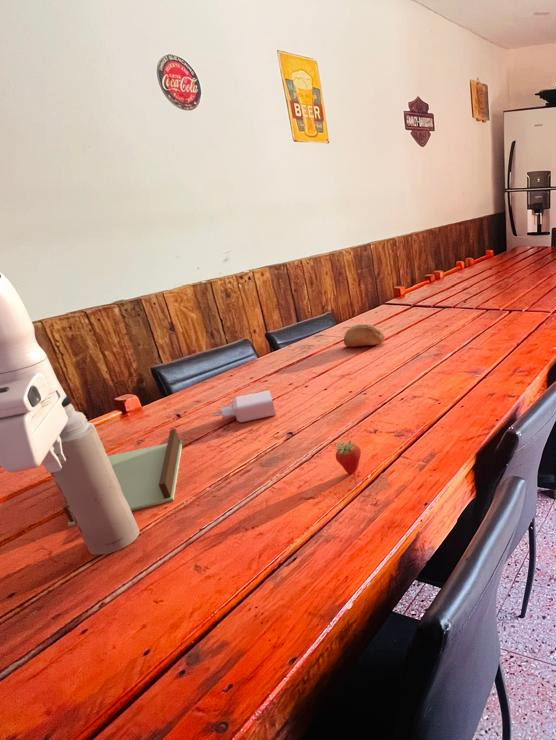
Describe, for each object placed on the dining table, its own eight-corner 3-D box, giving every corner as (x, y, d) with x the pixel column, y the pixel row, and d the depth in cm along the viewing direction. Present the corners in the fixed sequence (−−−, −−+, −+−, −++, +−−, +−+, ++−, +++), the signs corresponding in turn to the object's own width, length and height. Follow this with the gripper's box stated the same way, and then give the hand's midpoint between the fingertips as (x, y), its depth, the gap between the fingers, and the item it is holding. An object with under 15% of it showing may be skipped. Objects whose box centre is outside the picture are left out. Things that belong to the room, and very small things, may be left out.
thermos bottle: (85, 560, 89) (11, 416, 76) (92, 534, 95) (25, 398, 83) (137, 545, 92) (75, 404, 79) (141, 521, 98) (84, 387, 86)
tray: (68, 527, 98) (59, 509, 96) (98, 460, 121) (91, 445, 119) (173, 500, 104) (167, 483, 102) (182, 442, 127) (177, 427, 125)
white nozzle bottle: (215, 416, 140) (273, 404, 146) (216, 429, 132) (276, 416, 138) (210, 400, 138) (269, 388, 143) (211, 413, 130) (272, 400, 136)
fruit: (335, 472, 111) (328, 440, 107) (357, 463, 114) (351, 431, 110) (346, 481, 107) (339, 448, 104) (368, 471, 110) (363, 439, 107)
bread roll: (384, 347, 187) (381, 326, 183) (343, 351, 185) (339, 330, 182) (385, 339, 196) (382, 319, 192) (345, 343, 194) (342, 322, 190)
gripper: (14, 365, 79) (51, 443, 85) (-42, 416, 63) (9, 508, 69) (63, 358, 82) (96, 434, 88) (21, 405, 65) (65, 495, 71)
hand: (57, 467), depth 78 cm, fingers closed
